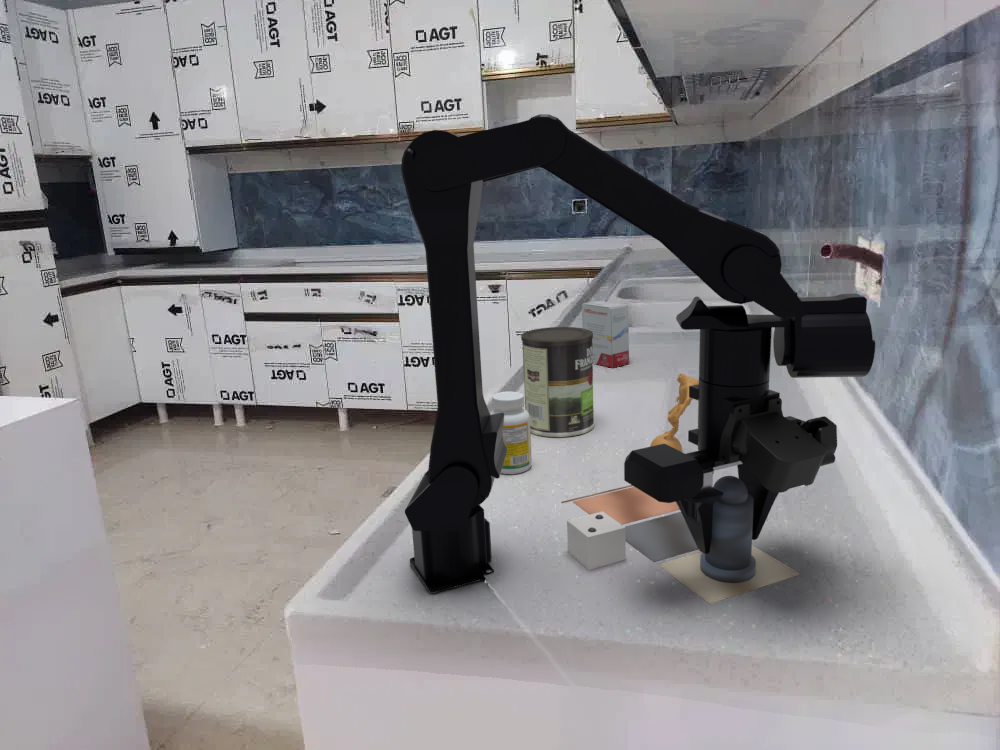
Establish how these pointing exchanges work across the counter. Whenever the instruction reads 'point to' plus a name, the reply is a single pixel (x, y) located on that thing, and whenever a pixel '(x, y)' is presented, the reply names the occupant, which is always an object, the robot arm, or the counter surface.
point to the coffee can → (558, 380)
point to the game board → (675, 542)
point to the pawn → (731, 534)
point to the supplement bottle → (514, 431)
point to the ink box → (607, 332)
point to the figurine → (677, 413)
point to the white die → (596, 540)
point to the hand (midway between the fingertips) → (728, 545)
